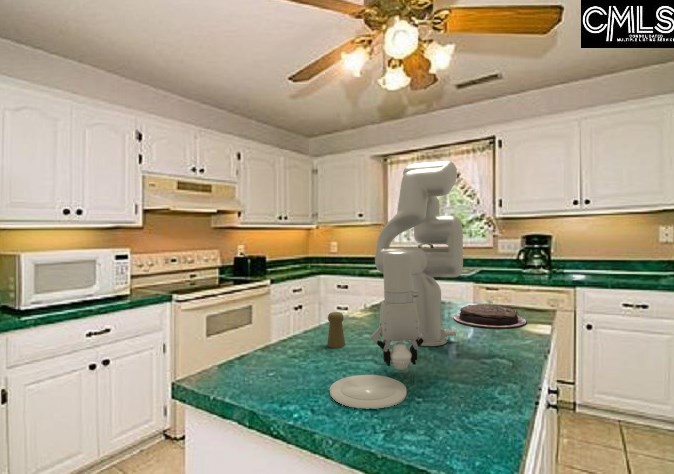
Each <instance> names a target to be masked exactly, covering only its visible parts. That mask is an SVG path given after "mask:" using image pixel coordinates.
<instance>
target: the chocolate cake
mask: <svg viewBox="0 0 674 474" xmlns="http://www.w3.org/2000/svg"><path fill="white" fill-rule="evenodd" d="M453 320H454V321H455V322H456V323H459V324H463V325H464V326H466V327H467V326H468V327H475V328H483V329H495V330H503V329H505V330H506V329H511V328H514V329H516V328H517V329H518V328H520V327H521V326H524V325H525V324H527V320H526V319H525V318H524V317H522V316H519V315H518V313H517V309H516V310H515V309H512V308H509V307H508V308H506V307H504V306H501V305H497V304H489V303H488V304H483V303H481V304H480V303H479V304H468V305H466V306H463V307H461V308H460V309H459V313H456V314H454V315H453Z"/></svg>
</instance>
